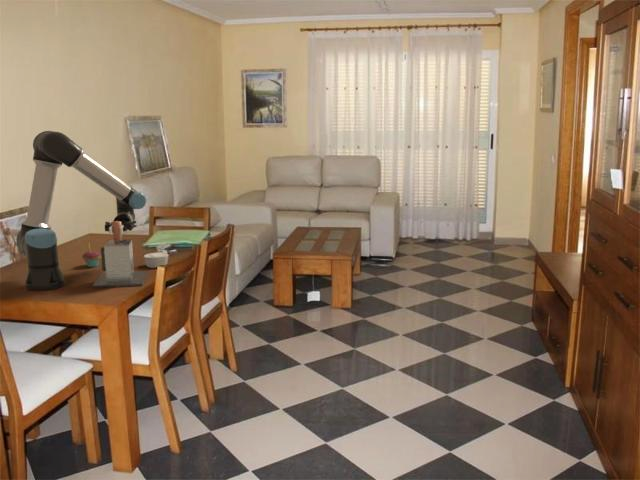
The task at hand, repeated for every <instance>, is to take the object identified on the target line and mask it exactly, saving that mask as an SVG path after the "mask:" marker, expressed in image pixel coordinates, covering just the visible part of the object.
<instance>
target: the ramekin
mask: <svg viewBox="0 0 640 480" xmlns="http://www.w3.org/2000/svg"><path fill="white" fill-rule="evenodd" d="M143 259H144V262H145V265H146V267H147V268H152V269H157V268H156V267H157V266H158V265H166V264H168V261H169V253H166V252H149V253H146V254H144V255H143ZM166 266H167V265H166Z"/></svg>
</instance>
